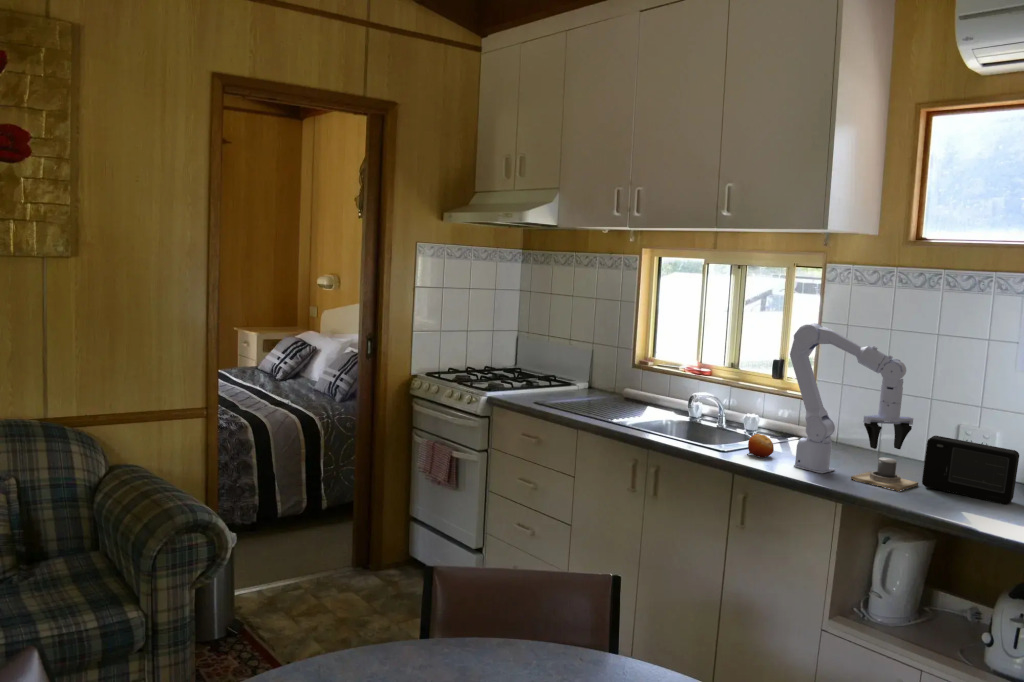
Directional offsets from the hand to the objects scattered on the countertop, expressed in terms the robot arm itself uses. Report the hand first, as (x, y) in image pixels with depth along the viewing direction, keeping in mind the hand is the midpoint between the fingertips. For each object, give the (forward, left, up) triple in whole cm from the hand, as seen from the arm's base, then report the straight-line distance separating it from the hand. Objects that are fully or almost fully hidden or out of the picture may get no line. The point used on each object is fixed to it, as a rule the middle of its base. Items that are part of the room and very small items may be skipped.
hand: (885, 448), depth 244 cm
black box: (+20, +10, -10) cm, 24 cm away
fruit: (-37, -6, -10) cm, 39 cm away
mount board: (+1, -1, -10) cm, 10 cm away
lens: (+1, -1, -9) cm, 9 cm away
